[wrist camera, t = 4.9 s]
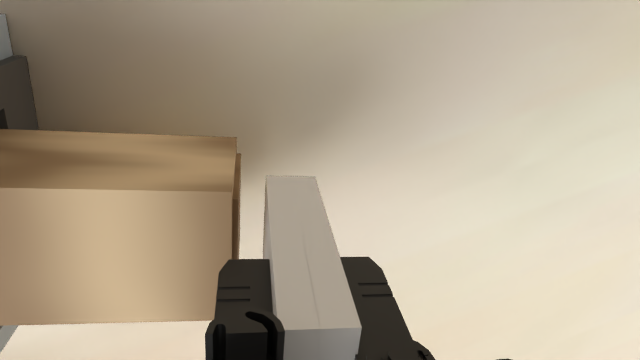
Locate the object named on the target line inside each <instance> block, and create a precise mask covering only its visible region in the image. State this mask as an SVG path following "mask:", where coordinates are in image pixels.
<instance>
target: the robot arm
mask: <svg viewBox="0 0 640 360" xmlns="http://www.w3.org/2000/svg"><path fill="white" fill-rule="evenodd" d="M205 348H206V360H435V358H434V357H433V356H432V354H431V353H430V351H429V350H428V349H426V348H425V347H424V346H422V345H421V344H420V343H418V342H416V341H414V340H412V337H411V335H410V333H409V330H408V328H407V326H406V323H405V321H404V319H403V317H402V314H401V312H400V310H399V307H398V305H397V303H396V301H395V298H394V297H393V294H392V291H391V289H390V287H389V285H388V282H387V280H386V278H385V275H384V273H383V271H382V269H381V268H380V267H379V266H378V265H377V264H376V263H375V262H374V261H373V260H372V259H370V258H369V257H340V256H339V253H338V249H337V246H336V243H335V240H334V237H333V233H332V230H331V227H330V224H329V220H328V217H327V214H326V211H325V207H324V204H323V201H322V198H321V195H320V191H319V188H318V185H317V182H316V178H315V177H307V176H266V185H265V211H264V237H263V259H229V260H228V261H227V262H226V264H225V265H224V266H223V267H222V269H221V270H220V271H219V275H218V285H217V295H216V305H215V315H214V320H213V321H212V322H210V323H209V326H208V328H207V331H206V333H205ZM498 360H511V359H498Z"/></svg>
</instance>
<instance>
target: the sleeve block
mask: <svg viewBox="0 0 640 360" xmlns="http://www.w3.org/2000/svg"><path fill="white" fill-rule="evenodd" d="M0 129H16V130H39V129H38V123H37V117H36V111H35V106H34V100H33V94H32V88H31V82H30V77H29V71H28V65H27V59H26V56H13V53H12V48H11V42H10V37H9V32H8V26H7V21H6V15H5V14H0ZM17 327H18V325H7V326H0V353H1V351H2V350H3V348H4V347H5V345H6V344H7V342H8V341H9V339H10V337H11V336H12V334H13V333H14V331H15V330H16V328H17Z"/></svg>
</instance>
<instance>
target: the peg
mask: <svg viewBox="0 0 640 360" xmlns="http://www.w3.org/2000/svg"><path fill="white" fill-rule="evenodd" d="M240 183H241V154H237V137H210V136H182V135H154V134H127V133H99V132H71V131H43V130H16V129H0V326H7V325H47V324H87V323H127V322H167V321H207V320H214V315H215V305H216V295H217V285H218V275H219V271H220V270H221V269H222V267H223V266H224V265H225V264H226V262H227V261H228V260H229V259H239V241H240Z"/></svg>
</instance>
